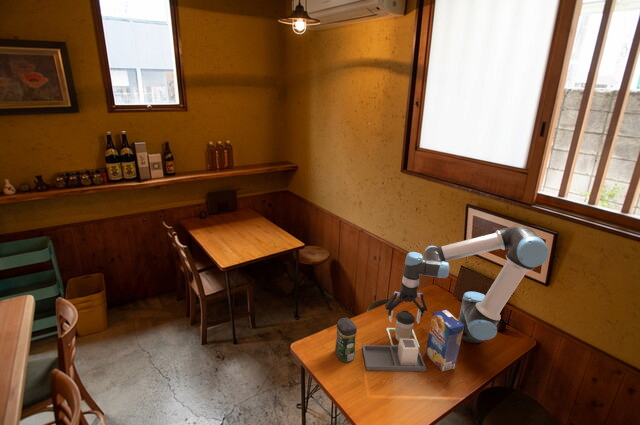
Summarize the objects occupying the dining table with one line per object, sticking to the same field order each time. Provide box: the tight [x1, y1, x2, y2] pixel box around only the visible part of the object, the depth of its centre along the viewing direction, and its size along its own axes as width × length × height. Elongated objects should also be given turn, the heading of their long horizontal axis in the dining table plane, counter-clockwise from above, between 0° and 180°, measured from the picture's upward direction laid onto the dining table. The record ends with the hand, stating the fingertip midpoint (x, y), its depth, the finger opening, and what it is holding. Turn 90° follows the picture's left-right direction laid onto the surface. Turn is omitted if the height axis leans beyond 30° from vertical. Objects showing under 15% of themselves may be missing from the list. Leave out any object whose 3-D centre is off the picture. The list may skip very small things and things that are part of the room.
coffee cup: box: [394, 309, 416, 342], centre depth 174 cm, size 9×9×15 cm
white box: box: [397, 338, 420, 366], centre depth 161 cm, size 7×7×9 cm
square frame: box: [386, 327, 421, 349], centre depth 176 cm, size 14×14×2 cm
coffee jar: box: [334, 317, 358, 363], centre depth 162 cm, size 10×8×19 cm
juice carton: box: [425, 309, 464, 372], centre depth 159 cm, size 12×8×24 cm, turn 20°
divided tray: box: [362, 344, 427, 372], centre depth 162 cm, size 26×14×3 cm, turn 91°
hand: (403, 321), depth 173 cm, fingers open, 13 cm apart
